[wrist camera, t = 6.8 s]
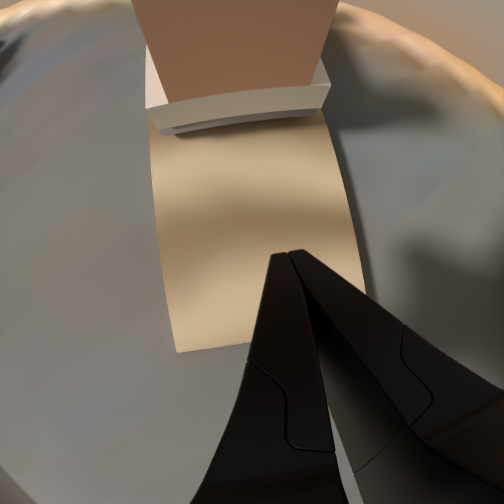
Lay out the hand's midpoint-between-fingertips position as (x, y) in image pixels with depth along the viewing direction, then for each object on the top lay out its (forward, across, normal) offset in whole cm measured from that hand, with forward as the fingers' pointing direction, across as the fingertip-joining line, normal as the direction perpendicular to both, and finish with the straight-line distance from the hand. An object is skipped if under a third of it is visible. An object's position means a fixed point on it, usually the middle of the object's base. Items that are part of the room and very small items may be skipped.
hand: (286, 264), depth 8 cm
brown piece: (+14, 0, -4) cm, 14 cm away
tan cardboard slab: (+12, 0, 0) cm, 12 cm away
